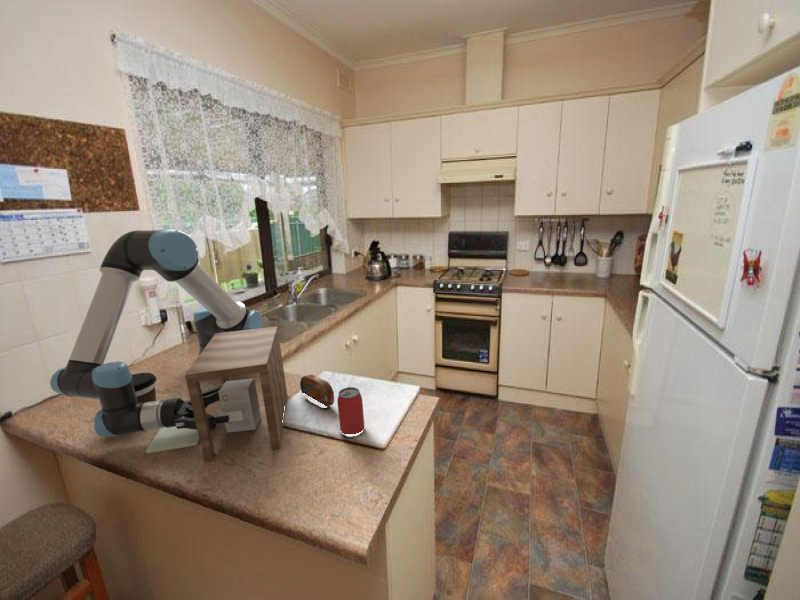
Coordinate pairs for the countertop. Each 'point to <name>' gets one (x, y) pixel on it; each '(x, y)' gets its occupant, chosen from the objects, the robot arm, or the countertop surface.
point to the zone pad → (173, 439)
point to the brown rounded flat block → (317, 389)
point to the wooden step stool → (240, 358)
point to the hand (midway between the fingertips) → (247, 401)
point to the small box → (240, 404)
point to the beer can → (350, 411)
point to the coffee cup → (144, 387)
